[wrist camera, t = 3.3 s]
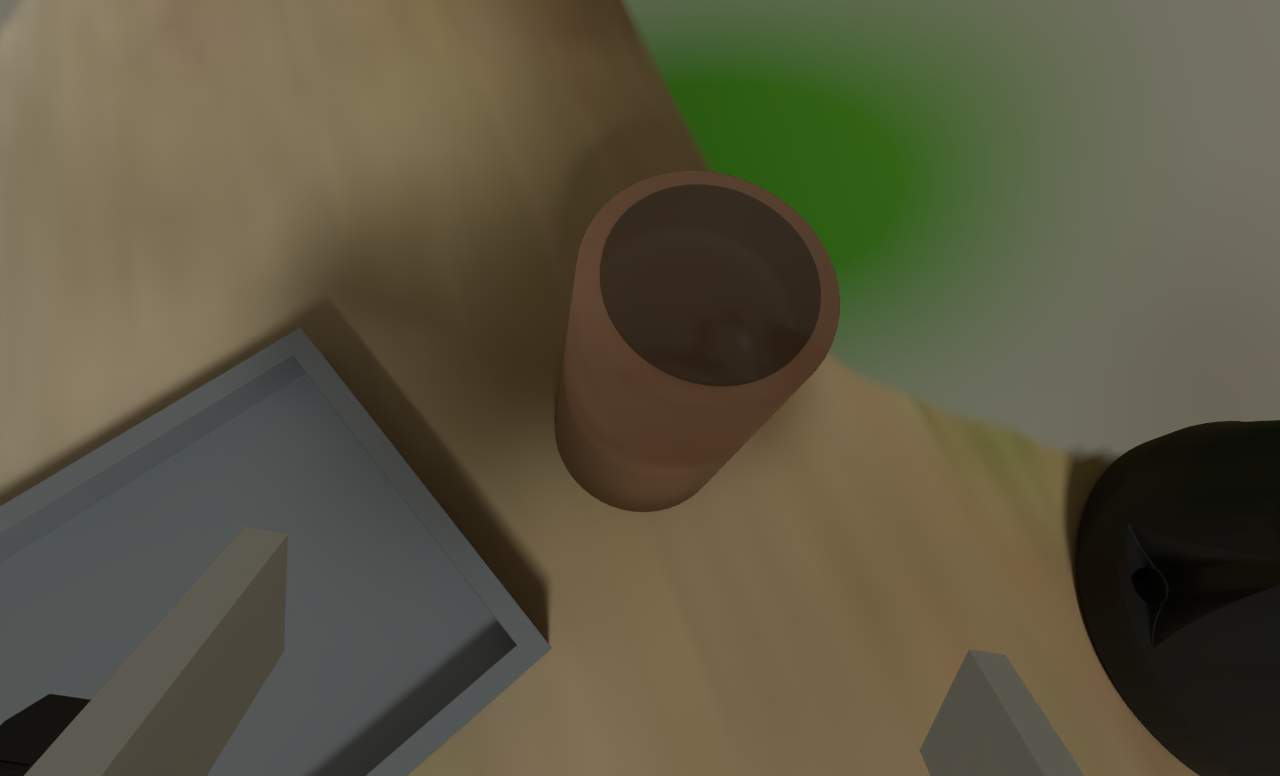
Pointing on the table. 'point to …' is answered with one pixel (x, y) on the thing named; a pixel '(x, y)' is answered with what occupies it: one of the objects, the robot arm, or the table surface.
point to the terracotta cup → (686, 333)
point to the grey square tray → (316, 571)
